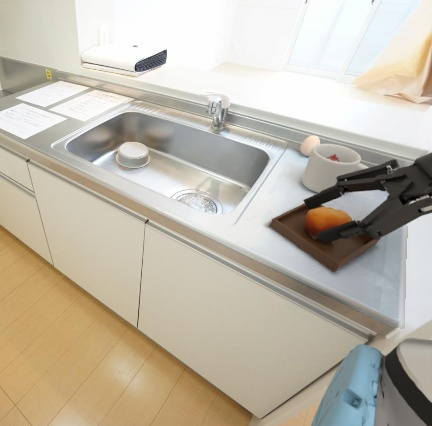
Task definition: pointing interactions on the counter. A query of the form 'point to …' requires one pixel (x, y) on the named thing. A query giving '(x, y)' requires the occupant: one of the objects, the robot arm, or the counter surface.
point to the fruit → (324, 220)
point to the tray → (324, 253)
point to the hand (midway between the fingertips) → (312, 220)
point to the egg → (309, 145)
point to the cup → (329, 166)
